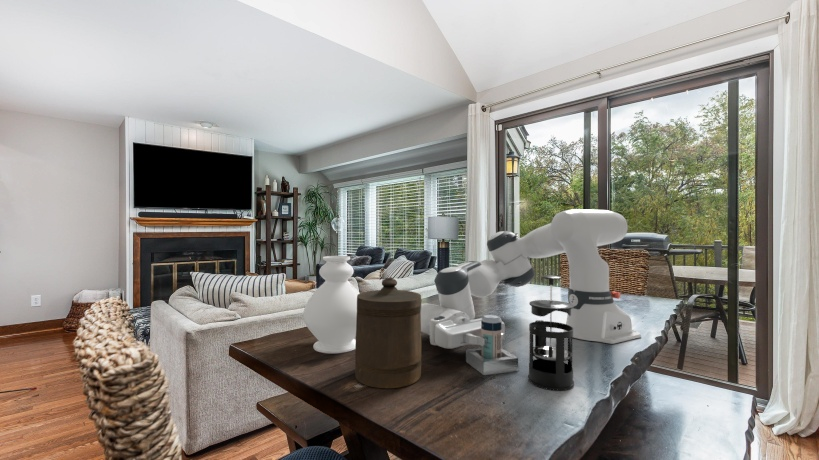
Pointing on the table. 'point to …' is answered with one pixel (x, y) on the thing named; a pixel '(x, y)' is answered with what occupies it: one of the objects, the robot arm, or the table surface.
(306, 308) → the decorative vase
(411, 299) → the wooden container
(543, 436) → the table surface
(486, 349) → the supplement bottle
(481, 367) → the light grey square box
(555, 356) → the french press
